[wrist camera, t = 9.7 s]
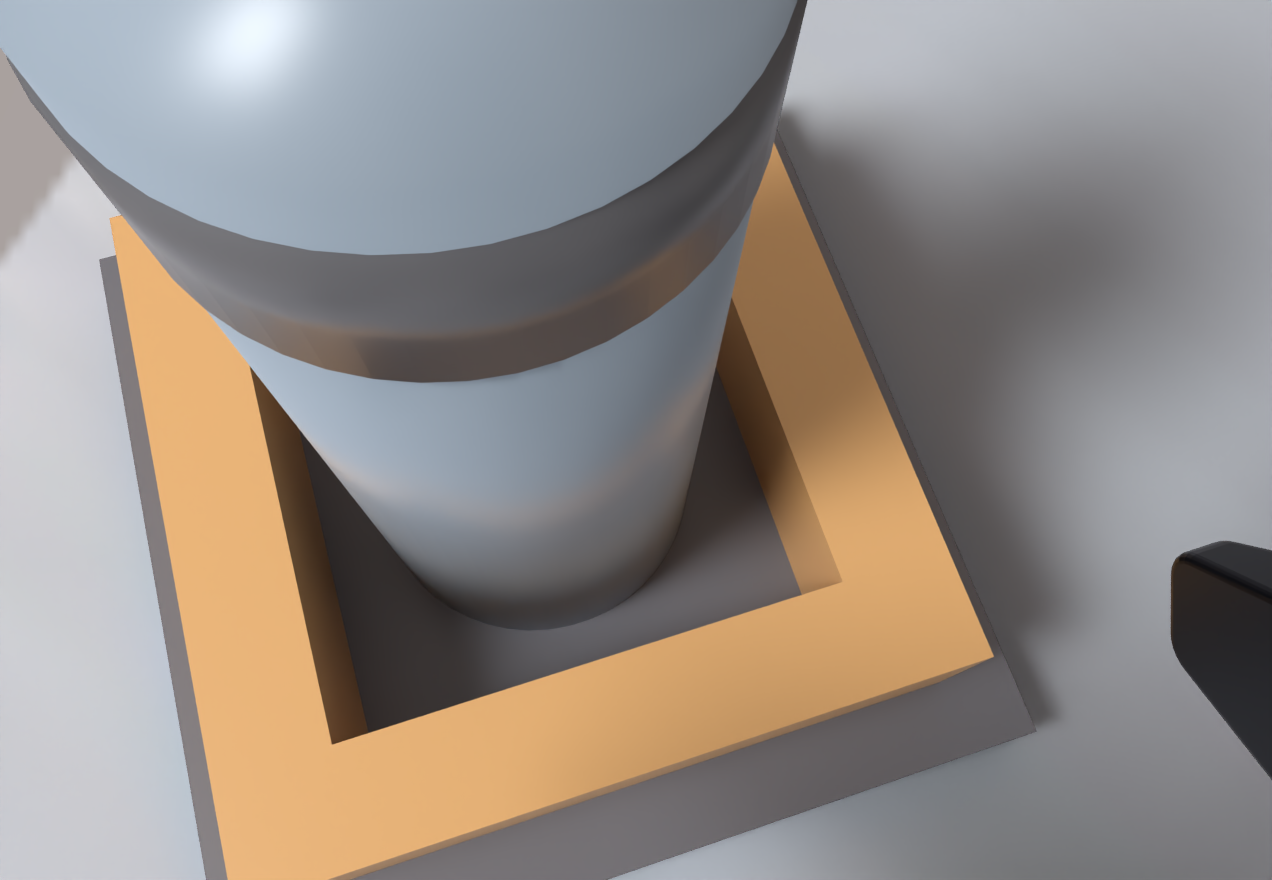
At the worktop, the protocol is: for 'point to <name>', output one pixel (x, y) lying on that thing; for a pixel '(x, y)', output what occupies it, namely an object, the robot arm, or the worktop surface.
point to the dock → (562, 657)
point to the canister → (449, 245)
